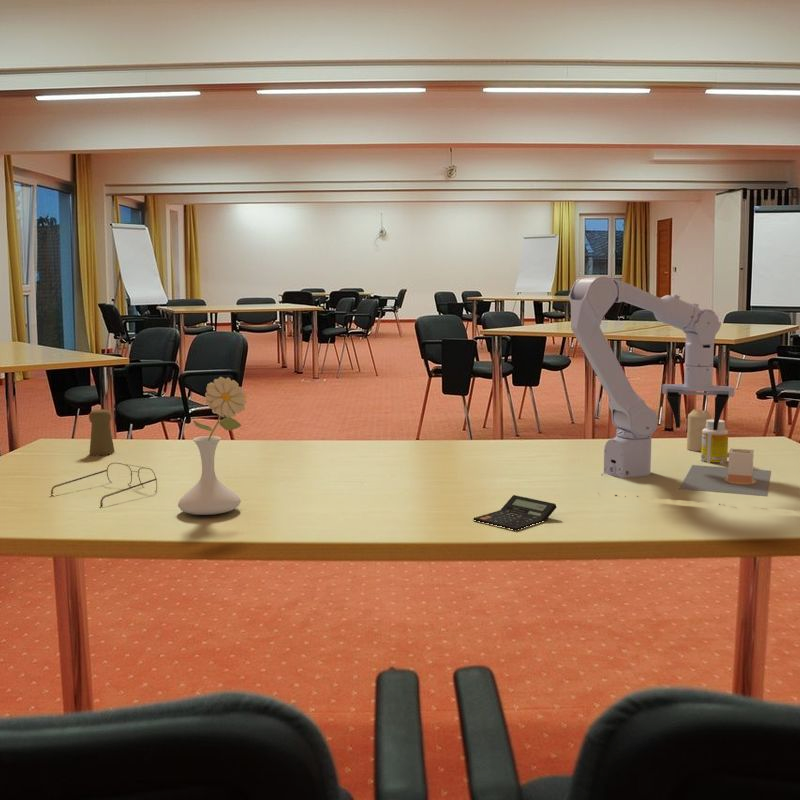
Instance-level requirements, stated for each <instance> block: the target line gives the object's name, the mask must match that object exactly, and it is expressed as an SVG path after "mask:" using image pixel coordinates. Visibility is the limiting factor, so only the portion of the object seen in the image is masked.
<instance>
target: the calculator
mask: <svg viewBox="0 0 800 800" xmlns="http://www.w3.org/2000/svg"><path fill="white" fill-rule="evenodd" d="M556 509H557V505H556V503H553V502H549V501H544V500H539V499H534V498H529V497H525V496H519V495H516V494H513V495H512V496H511V497H510V498H509V499H508V501H506V503H505V504H504V505H503V507H501V509H499V510H496V511H493V512H489V513H486V514H482V515H479V516H476V517H473V521H474V520H476V521H480V522H484V523H489V524H493V525H497V526H502V527H505V528H510V529H513V530H518V529H521V528H524V527H526V526H530V525H532V524H536V523H539V522H542V521H545V522H546V521H547V520H548V518H549V517H550V516H551V515H552V513H554V512H555V510H556Z"/></svg>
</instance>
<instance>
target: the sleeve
mask: <svg viewBox="0 0 800 800" xmlns="http://www.w3.org/2000/svg"><path fill="white" fill-rule="evenodd" d="M754 452H755V450H754V449H743V448H730V450H729V452H728V467H727V468H728V482H740V483H752V479H753V469H754Z"/></svg>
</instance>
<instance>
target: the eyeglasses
mask: <svg viewBox="0 0 800 800" xmlns="http://www.w3.org/2000/svg"><path fill="white" fill-rule="evenodd" d="M113 464H118V465H123V466H126V467H128V469H129V470H130V482H129V483H128V484H130V485H131V484H132V481H133V472H135V473H137V477H138V480H139V484H138V483H137V484H136V485H132V486H130V487H127V488H124V489H119V490H117V491H115V492H114V491H113V492H111V493H108V494H105V495H103V496H102V497H101V498H100V501H99V502H100V506H101V505H103V506H104V504H103V501H104V499H105V498H108V497H110V496H114V495H116V494H120V493H122V492H125V491H128V490H131V489H134V488H136V487H137V488H138V487H140V486H141V487H142V488H144V487H145V486H144V485H146V484H148V483H151V482H154V481H155V485H156V488H155V492H157V490H158V480H157V479H158V478H157V477H156V473H155V472H154V470H153V469H152V468H150V467H143V466H141V467H140V466H138V465H135V467H137V468H138V470H137V471H136V470H132V469H131V467H134V465H133V464H128V463H127V464H125V463H121V462H111V463H109V464H108V465H107V467H106V469H105V470H104V469H103V470H101V471H98V472H94V473H91V474H89V475H85V476H82V477H79V478H76V479H72V480H68V481H65V482H61V483H58V484H55V485H54V486H52V487H51V490H50V495H52V494H54V490H55V488H56V487H61V486H64V485H67V484H71V483H74V482H77V481H80V480H83V479H86V478H89V477H92V476H95V475H98V474H103V473H105V472H106V476H107V479H108V481H109V483H111V482H112V481H111V479H110V477H109V471H108V470H109V466H111V465H113ZM130 466H131V467H130ZM141 469H147V470H150V471H152V473H153V476H154V478H153V479H150V480H148V481H144V482H142V481H141V478H140V470H141Z"/></svg>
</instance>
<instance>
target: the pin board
mask: <svg viewBox="0 0 800 800" xmlns="http://www.w3.org/2000/svg"><path fill="white" fill-rule="evenodd" d="M771 474H772V470H767V469H766V470H765V469H754V468H753V479H752V483H740V482H728V467H725V466H711V465H698V464H692V465H691V466H690V469H689V471H688V472H687V474H686V475H685V478H684V479H683V481H682V483H681V484H680V486H679V488H678V489H679V490H685V491H686V490H687V491H701V492H709V493H711V492H712V493H723V494H733V495H746V496H758V497H760V496H761V497H768V494H769V489H770V488H769V487H770V481H771V480H770V479H771Z"/></svg>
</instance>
